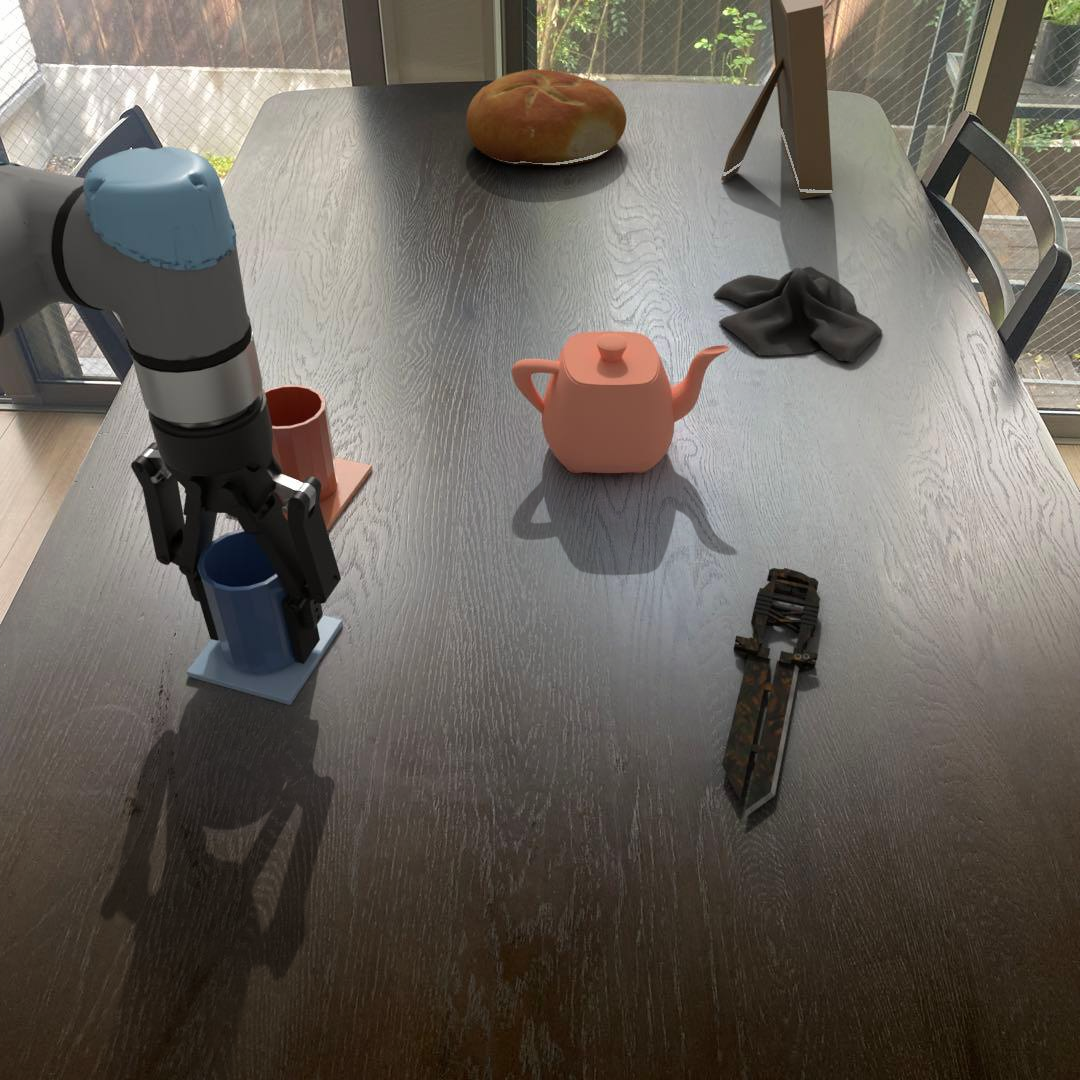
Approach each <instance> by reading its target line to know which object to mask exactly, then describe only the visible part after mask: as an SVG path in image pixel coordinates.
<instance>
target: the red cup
mask: <svg viewBox="0 0 1080 1080" xmlns="http://www.w3.org/2000/svg"><path fill="white" fill-rule="evenodd" d="M264 392H265V394H266V399H267V404H268V409H269V414H270V419H271V424H272V429H273V446H272V453H273V456H274V458H275V460H276V461H277V463H278V464H279V465H280V467H281V469H282V472H283V475H286V476H288V477H290V478H293V479H295V480H297V481H300V482H302V483H303V482H304V480H305V479H306V478H307V477H310V476H312V477H315V478H316V479H318V480H319V481H320V483H321V494H320V502H319V504H320V503H322V502H323V501H325V500H327V499H328V498H329V497H330V496H331V495H332V494H333V493H334V492H335V490H336V488H337V484H338V480H337V469H336V463H335V451H334V444H333V437H332V431H331V430H332V429H331V424H330V419H329V412H328V405H327V400H326V398H325V396H324V395H323V393H322V392H320V391H319V390H317V389H315V388H314V387H311V386H307V385H302V384H281V385H277V386H274V387H273V386H272V387H269V388H267V389H264ZM279 497H280V496H279ZM280 499H281V500H282V498H281V497H280ZM282 503H283V502H282ZM283 505H284V504H283Z"/></svg>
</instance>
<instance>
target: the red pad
mask: <svg viewBox="0 0 1080 1080" xmlns="http://www.w3.org/2000/svg"><path fill="white" fill-rule="evenodd" d="M335 463H336V469H337V480H338V484H337V488H336V490H335V492H334V493H333V494H332V495H331V496H330V497H329V498H328V499H327V500H325V501H323V502H322V503H320V508H321V511H322V515H323V518H324V522H325V525H326V528H327V532H328V533H329V530H330V529H331V528H332V527H333V525H334V523H336V521H337V520H338V518H339V517H340V515H341V514H342V513H343V512H344V510H345V508H346V507H347V506H348V504H349V503H350V502H351V500H352V499H353V498H354V496H355V495H356V494H357V492H358V491H359V489H360V488H361V487H362V485H363V484H364V483H365V481H366V480H367V478H368V477H369V476H370V474H371V473H372V472H373V471H374V469H373V465H372V464H369V463H368V464H367V463H363V462H359V461H354V460H349V459H345V458H340V457H335ZM282 512H283V511H282ZM283 514H284V516H285V518H286V519H287V513H284V512H283ZM287 521H288V519H287Z"/></svg>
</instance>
